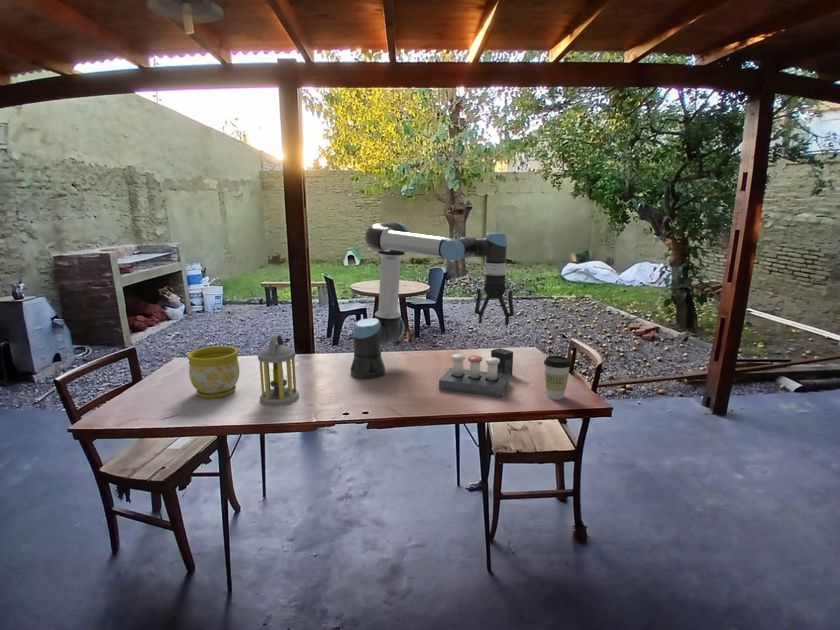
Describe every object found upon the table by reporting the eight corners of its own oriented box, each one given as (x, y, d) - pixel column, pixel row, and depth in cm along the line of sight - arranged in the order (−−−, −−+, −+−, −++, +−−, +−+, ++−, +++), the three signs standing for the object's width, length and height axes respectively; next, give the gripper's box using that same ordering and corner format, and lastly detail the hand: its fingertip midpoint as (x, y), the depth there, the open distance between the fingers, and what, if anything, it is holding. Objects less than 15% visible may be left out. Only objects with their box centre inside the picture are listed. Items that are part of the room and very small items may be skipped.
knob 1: (449, 376, 191) (449, 357, 189) (453, 371, 196) (453, 353, 194) (462, 377, 189) (463, 358, 187) (466, 373, 194) (466, 354, 193)
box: (512, 374, 205) (513, 351, 203) (503, 377, 202) (504, 353, 199) (498, 370, 211) (499, 347, 209) (490, 373, 207) (490, 349, 205)
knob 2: (483, 380, 186) (484, 360, 185) (486, 375, 192) (487, 356, 190) (497, 381, 184) (498, 362, 183) (500, 377, 190) (500, 358, 188)
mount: (438, 389, 188) (439, 380, 187) (450, 376, 203) (450, 367, 202) (501, 397, 180) (502, 387, 179) (508, 383, 194) (509, 374, 194)
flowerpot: (218, 404, 174) (214, 361, 170) (180, 397, 180) (175, 356, 177) (251, 387, 190) (248, 348, 187) (215, 382, 197) (212, 343, 193)
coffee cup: (536, 394, 183) (538, 356, 180) (557, 390, 187) (559, 353, 184) (553, 403, 174) (555, 364, 171) (574, 399, 178) (577, 361, 175)
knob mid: (466, 378, 189) (466, 358, 187) (469, 373, 194) (470, 355, 192) (480, 379, 187) (480, 360, 185) (483, 375, 192) (483, 356, 190)
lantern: (267, 391, 186) (263, 329, 181) (303, 391, 186) (300, 330, 180) (254, 405, 172) (248, 339, 167) (292, 406, 172) (288, 339, 167)
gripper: (466, 274, 179) (465, 332, 184) (521, 276, 172) (518, 337, 177) (471, 271, 186) (470, 328, 191) (524, 273, 179) (521, 332, 184)
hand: (493, 332), depth 184 cm, fingers open, 8 cm apart
